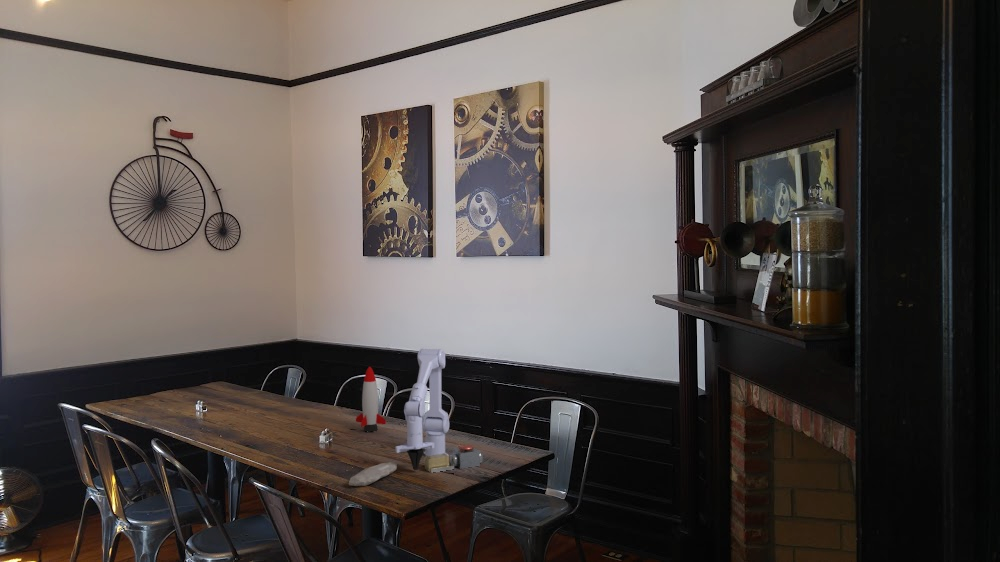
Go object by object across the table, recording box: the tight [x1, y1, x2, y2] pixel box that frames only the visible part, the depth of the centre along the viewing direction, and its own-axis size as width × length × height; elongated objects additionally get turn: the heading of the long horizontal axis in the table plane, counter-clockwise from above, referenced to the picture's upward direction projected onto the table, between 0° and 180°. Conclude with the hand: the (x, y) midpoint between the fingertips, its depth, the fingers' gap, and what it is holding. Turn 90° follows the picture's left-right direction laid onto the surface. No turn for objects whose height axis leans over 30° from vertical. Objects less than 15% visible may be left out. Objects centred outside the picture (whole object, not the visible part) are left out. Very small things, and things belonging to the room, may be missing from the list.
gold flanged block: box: [424, 452, 450, 473], centre depth 262 cm, size 5×8×5 cm, turn 114°
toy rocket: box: [355, 366, 387, 433], centre depth 325 cm, size 11×11×30 cm
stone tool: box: [348, 461, 398, 487], centre depth 252 cm, size 12×5×25 cm
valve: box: [430, 443, 484, 474], centre depth 265 cm, size 8×22×7 cm, turn 114°
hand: (415, 469), depth 259 cm, fingers closed
